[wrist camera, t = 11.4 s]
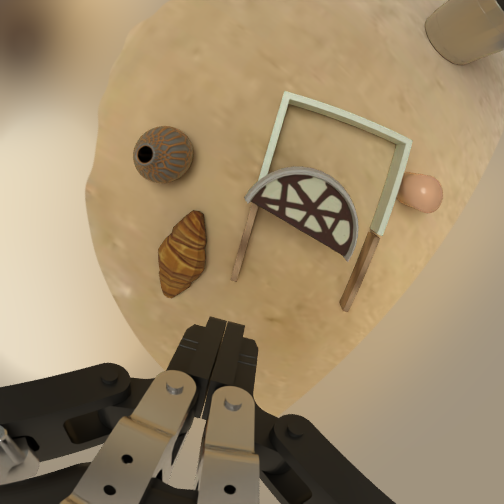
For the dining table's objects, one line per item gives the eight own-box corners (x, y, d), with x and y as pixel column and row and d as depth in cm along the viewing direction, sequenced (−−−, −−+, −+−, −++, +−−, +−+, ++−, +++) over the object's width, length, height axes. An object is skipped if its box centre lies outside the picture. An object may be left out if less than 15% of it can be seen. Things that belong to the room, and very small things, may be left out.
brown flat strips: (255, 195, 35) (253, 197, 33) (373, 233, 35) (379, 238, 33) (233, 272, 39) (230, 280, 36) (344, 303, 39) (348, 312, 36)
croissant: (192, 301, 41) (182, 319, 36) (152, 283, 41) (138, 298, 36) (225, 219, 37) (217, 229, 32) (179, 200, 36) (165, 206, 32)
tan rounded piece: (399, 167, 32) (419, 169, 26) (424, 179, 32) (447, 184, 26) (389, 197, 34) (408, 205, 28) (414, 208, 34) (436, 218, 28)
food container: (357, 198, 34) (385, 212, 25) (333, 237, 36) (351, 264, 26) (275, 147, 33) (275, 141, 23) (251, 189, 35) (241, 200, 25)
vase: (145, 174, 35) (111, 180, 27) (157, 125, 33) (124, 118, 25) (191, 185, 35) (167, 194, 27) (204, 134, 33) (183, 127, 25)
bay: (283, 96, 31) (284, 90, 28) (402, 141, 31) (412, 140, 28) (256, 191, 35) (254, 194, 32) (374, 229, 35) (382, 235, 32)
